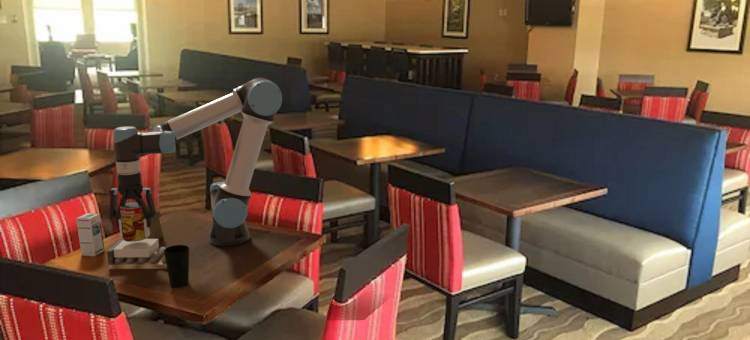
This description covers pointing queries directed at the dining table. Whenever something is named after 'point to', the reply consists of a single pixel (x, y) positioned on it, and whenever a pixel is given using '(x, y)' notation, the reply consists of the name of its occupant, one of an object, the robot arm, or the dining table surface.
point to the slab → (136, 248)
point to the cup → (177, 265)
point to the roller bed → (136, 260)
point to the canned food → (132, 222)
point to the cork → (155, 227)
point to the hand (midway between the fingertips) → (135, 235)
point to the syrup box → (90, 234)
